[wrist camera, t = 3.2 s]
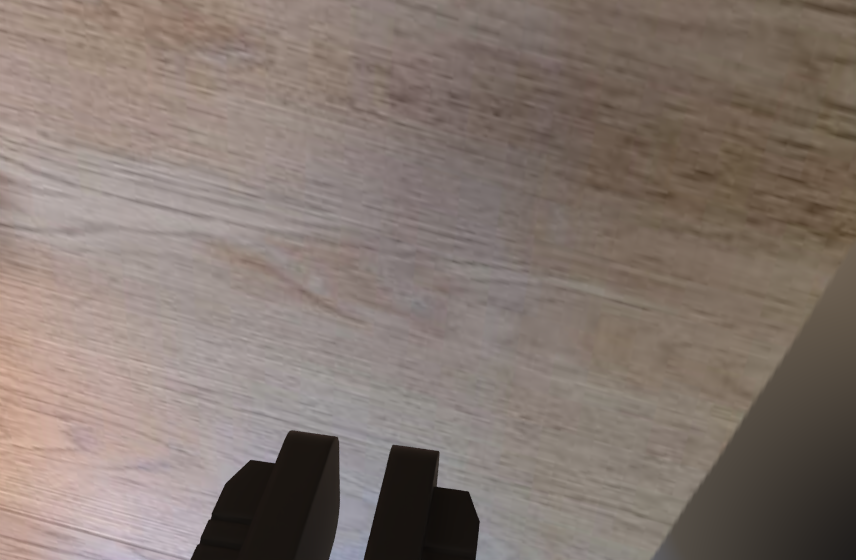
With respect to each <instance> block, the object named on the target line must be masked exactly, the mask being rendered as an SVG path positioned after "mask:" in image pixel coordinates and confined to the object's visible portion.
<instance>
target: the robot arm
mask: <svg viewBox="0 0 856 560" xmlns="http://www.w3.org/2000/svg"><path fill="white" fill-rule="evenodd" d="M438 466H439V451H434V450H427V449H420V448H413V447H406V446H399V445H392V448H391V451H390V454H389V458H388V462H387V467H386V471H385V475H384V479H383V483H382V487H381V491H380V495H379V499H378V503H377V507H376V511H375V516H374V520H373V524H372V528H371V532H370V536H369V540H368V544H367V548H366V552H365V556H364V560H476V551H477V542H478V532H479V523H480V521H479V518H478V516H477V513H476V510H475V508H474V505H473V502H472V499H471V497H470V494H469V492H468V491H461V490H454V489H447V488H441V487H437V477H438ZM339 507H340V479H339V440H338V437H335V436H328V435H321V434H314V433H307V432H300V431H293V430H291V431H289V433H288V434H287V436H286V438H285V440H284V443H283V445H282V448H281V450H280V453H279V455H278V458H277V460H276V463H268V462H262V461H255V460H250V461H249V462H248V463H247V464H246V465H245V466H244V467H243V468H242V469H240V470H239V471H238V472H237V473H236V474H235V475H234V476H233V477H232V478H231V479H230V480H229V481H228V482H227V483H226V484H225V486H224V488H223V490H222V492H221V495H220V497H219V499H218V501H217V503H216V505H215V508H214V510H213V512H212V517H211V520H209V521H208V523H207V525H206V527H205V529H204V532H203V534H202V536H201V540H200V544H198V545H197V547H196V549H195V551H194V553H193V556H192V558H191V560H329V557H330V553H331V550H332V546H333V543H334V539H335V534H336V529H337V524H338V517H339Z"/></svg>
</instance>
